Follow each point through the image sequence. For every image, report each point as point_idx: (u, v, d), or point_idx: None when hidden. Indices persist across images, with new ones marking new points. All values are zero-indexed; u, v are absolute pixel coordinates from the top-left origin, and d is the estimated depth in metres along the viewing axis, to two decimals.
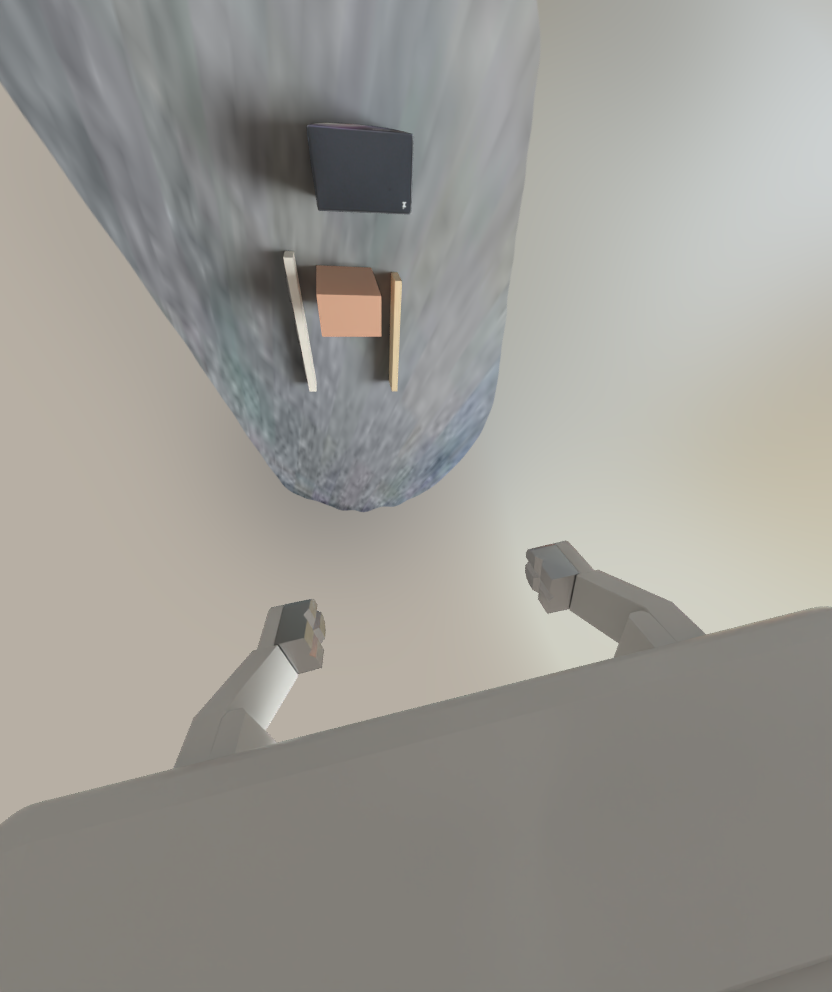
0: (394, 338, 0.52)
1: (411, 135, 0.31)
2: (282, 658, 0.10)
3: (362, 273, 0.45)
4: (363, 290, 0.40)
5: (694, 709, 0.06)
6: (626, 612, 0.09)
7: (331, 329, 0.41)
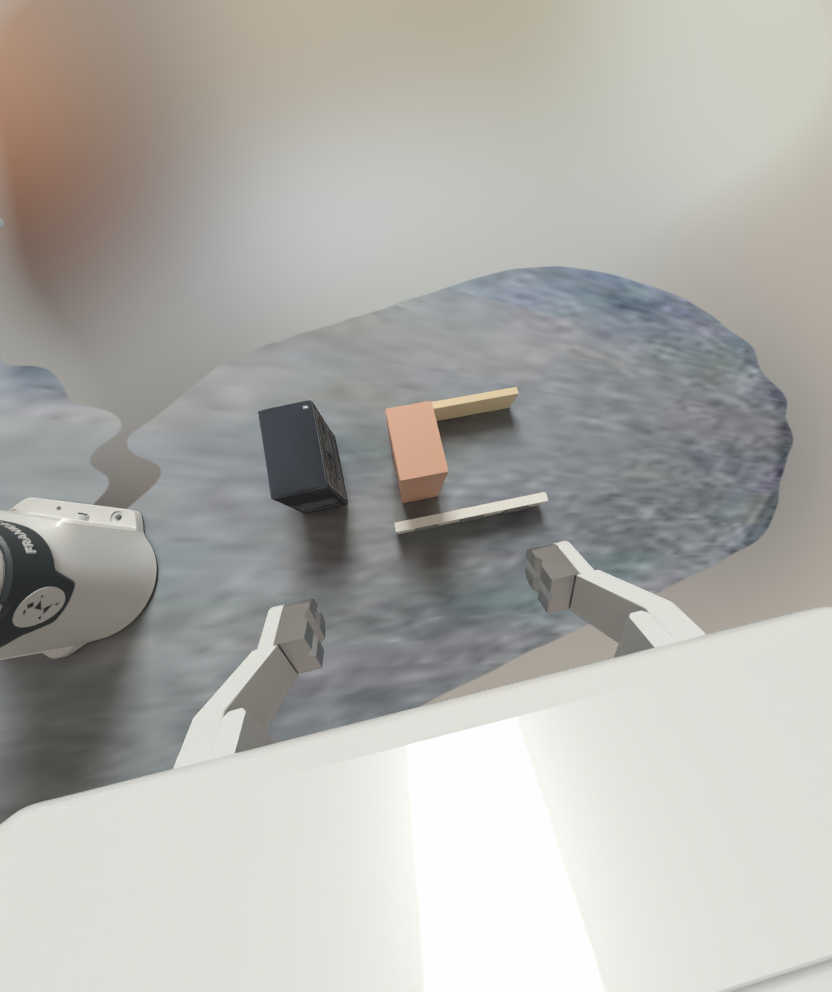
0: (448, 404, 0.42)
1: (259, 412, 0.34)
2: (282, 658, 0.10)
3: (392, 452, 0.41)
4: None
5: (694, 709, 0.06)
6: (626, 612, 0.09)
7: (437, 460, 0.31)
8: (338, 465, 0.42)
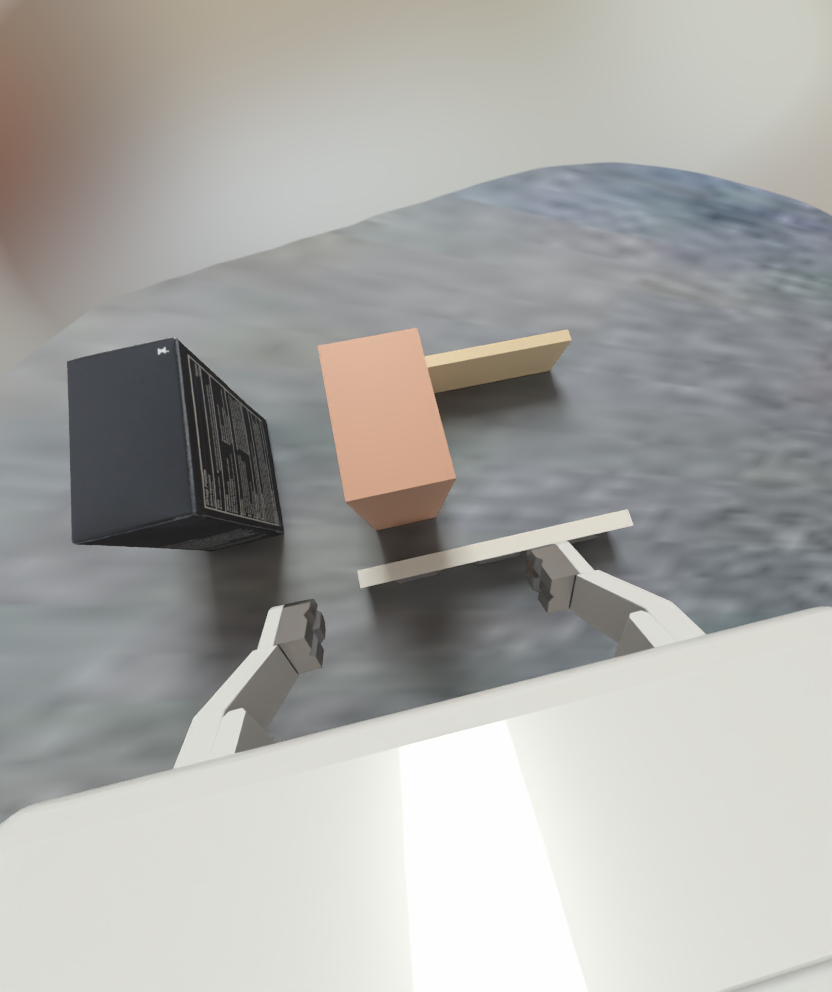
0: (452, 360, 0.24)
1: (68, 362, 0.17)
2: (282, 658, 0.10)
3: None
4: None
5: (694, 709, 0.06)
6: (626, 612, 0.09)
7: (430, 454, 0.14)
8: (265, 468, 0.24)
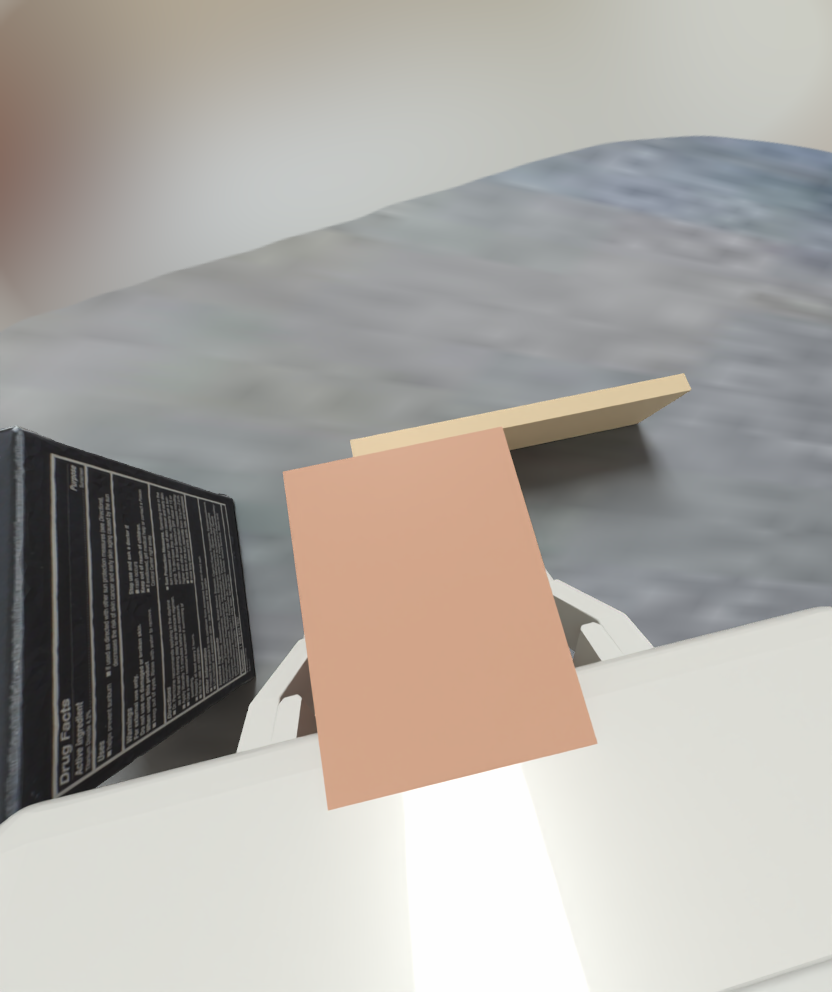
0: (512, 423, 0.16)
1: None
2: None
3: None
4: None
5: (694, 709, 0.06)
6: (582, 623, 0.09)
7: None
8: (226, 585, 0.16)
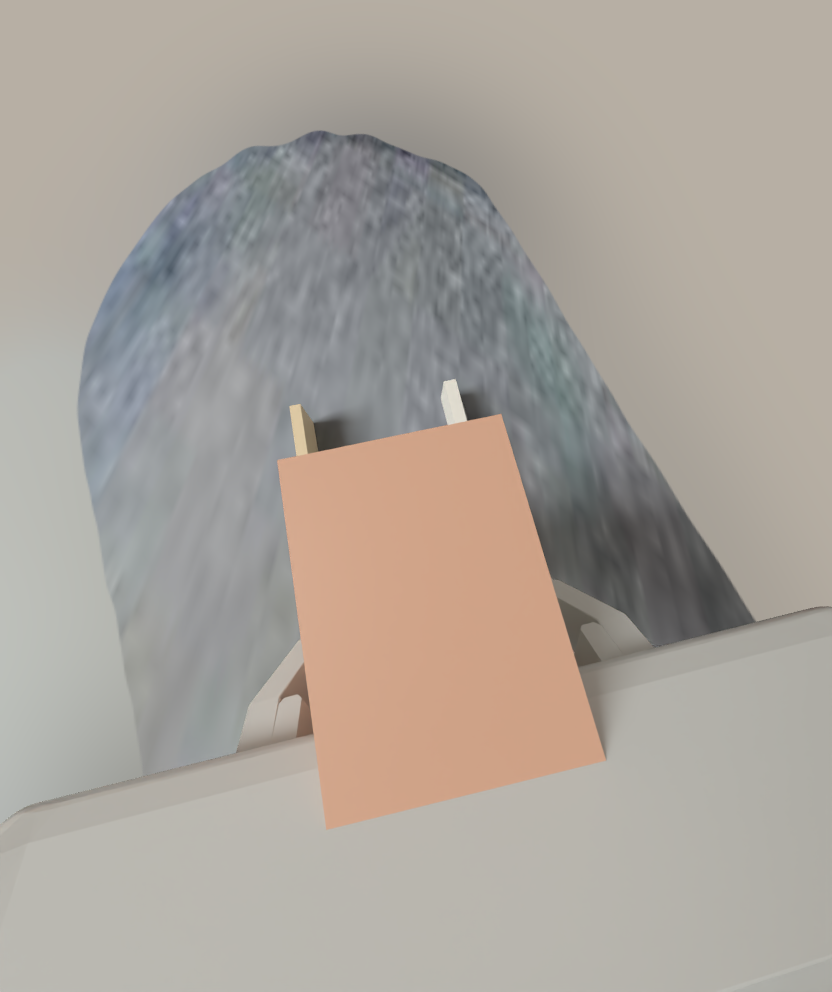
0: None
1: None
2: None
3: None
4: None
5: (694, 709, 0.06)
6: (581, 623, 0.09)
7: (556, 763, 0.05)
8: None
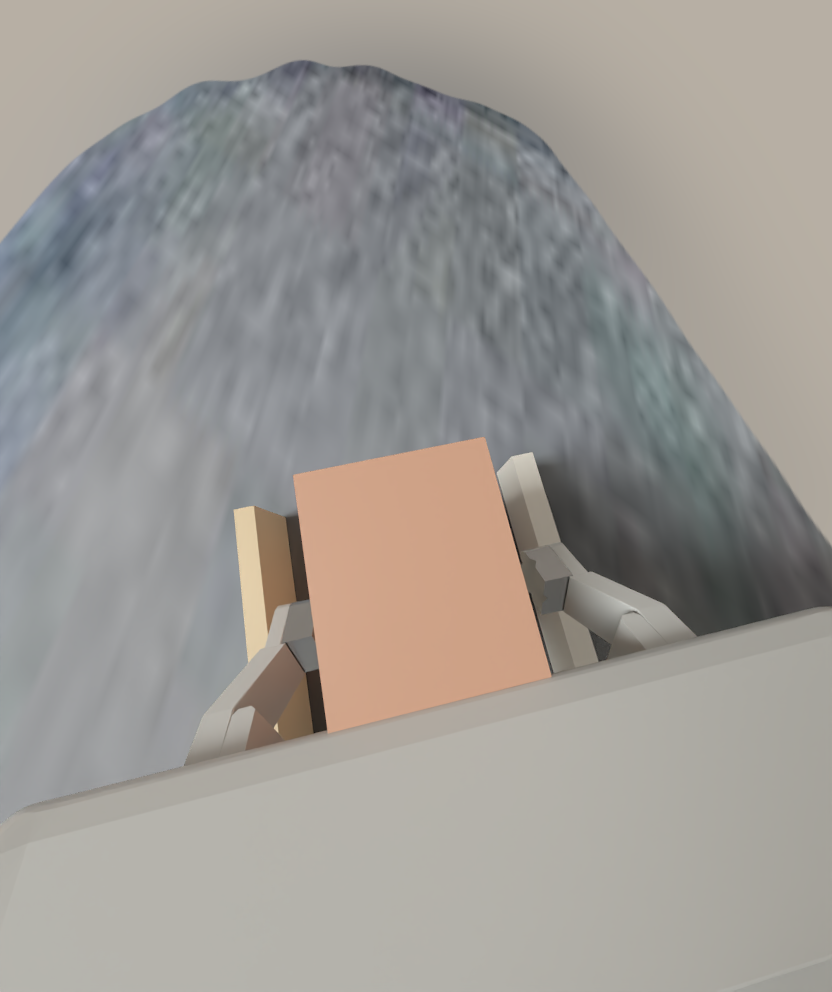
0: None
1: None
2: (289, 656, 0.10)
3: None
4: None
5: (694, 709, 0.06)
6: (619, 614, 0.09)
7: None
8: None
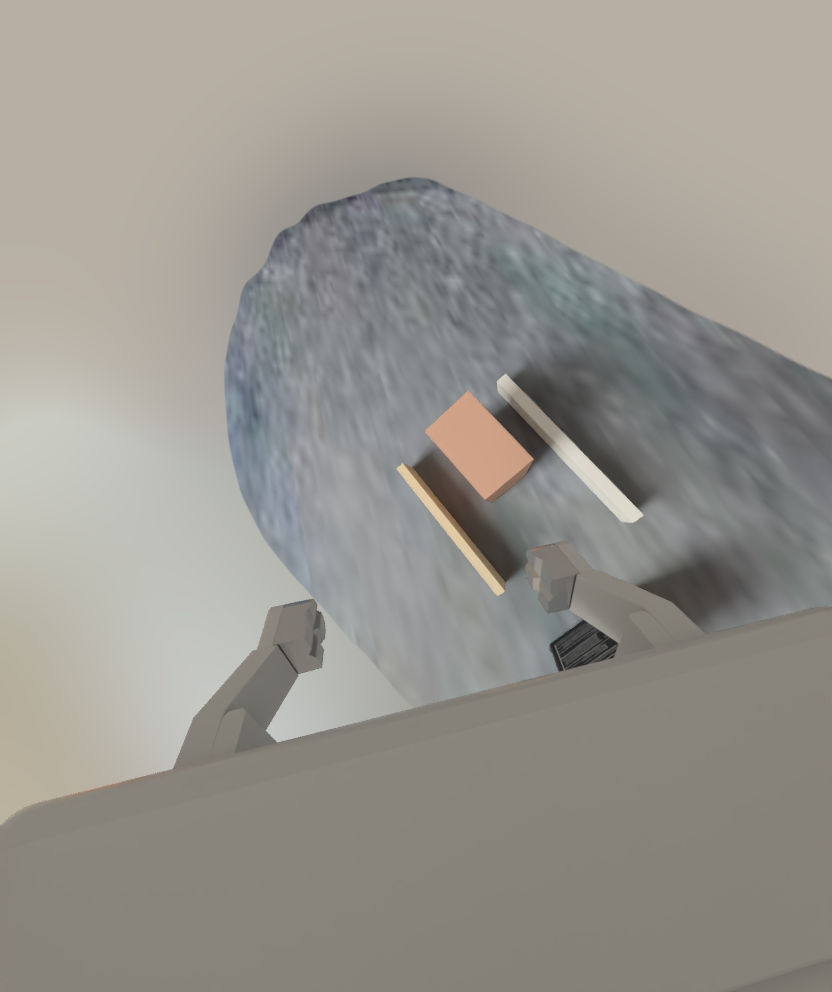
0: (454, 530, 0.34)
1: None
2: (282, 658, 0.10)
3: None
4: None
5: (694, 709, 0.06)
6: (626, 612, 0.09)
7: (513, 454, 0.25)
8: None
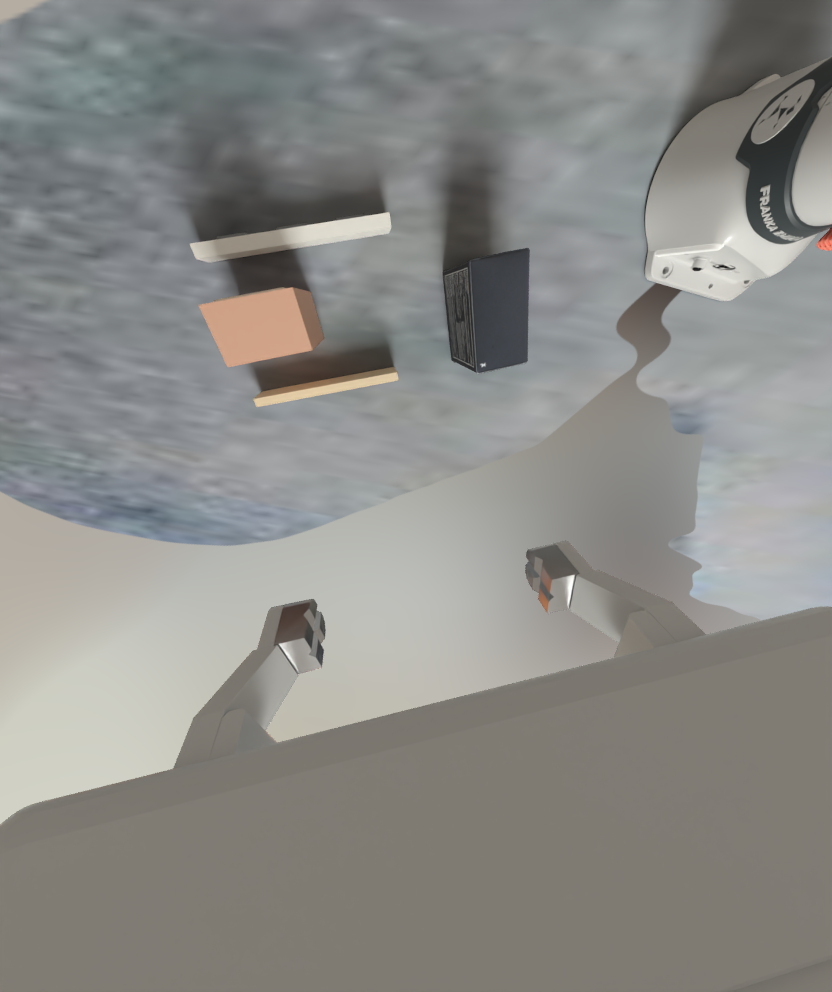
0: (332, 385, 0.38)
1: (526, 360, 0.35)
2: (282, 658, 0.10)
3: None
4: None
5: (694, 709, 0.06)
6: (626, 612, 0.09)
7: (281, 302, 0.27)
8: (450, 319, 0.39)
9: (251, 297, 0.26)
